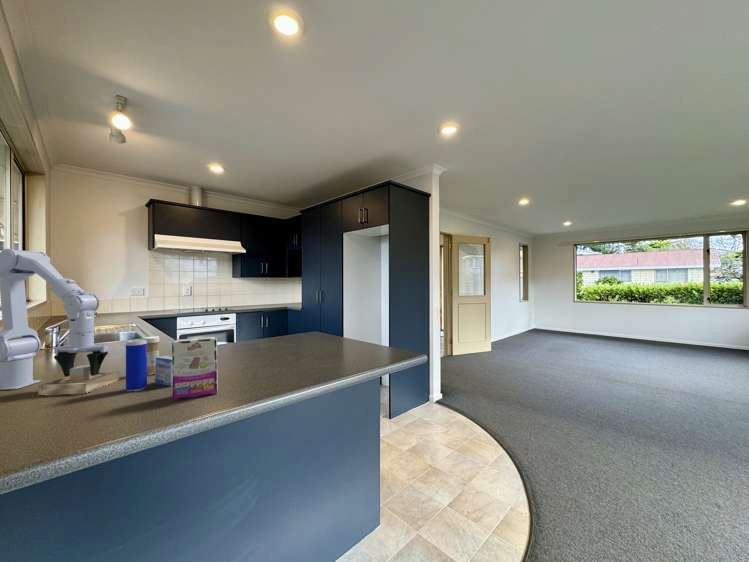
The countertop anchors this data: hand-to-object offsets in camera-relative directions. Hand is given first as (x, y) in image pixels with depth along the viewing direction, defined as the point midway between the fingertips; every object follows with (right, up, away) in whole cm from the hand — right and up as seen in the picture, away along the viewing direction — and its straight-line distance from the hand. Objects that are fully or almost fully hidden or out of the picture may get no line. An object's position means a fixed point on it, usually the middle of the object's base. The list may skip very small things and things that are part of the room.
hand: (81, 375), depth 96 cm
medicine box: (+26, -4, +3) cm, 26 cm away
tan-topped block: (0, -3, 0) cm, 3 cm away
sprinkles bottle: (+12, -4, +14) cm, 19 cm away
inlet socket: (0, -4, 0) cm, 4 cm away
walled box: (0, -4, 0) cm, 4 cm away
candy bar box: (+41, -4, -8) cm, 42 cm away
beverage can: (+19, -4, -2) cm, 20 cm away
